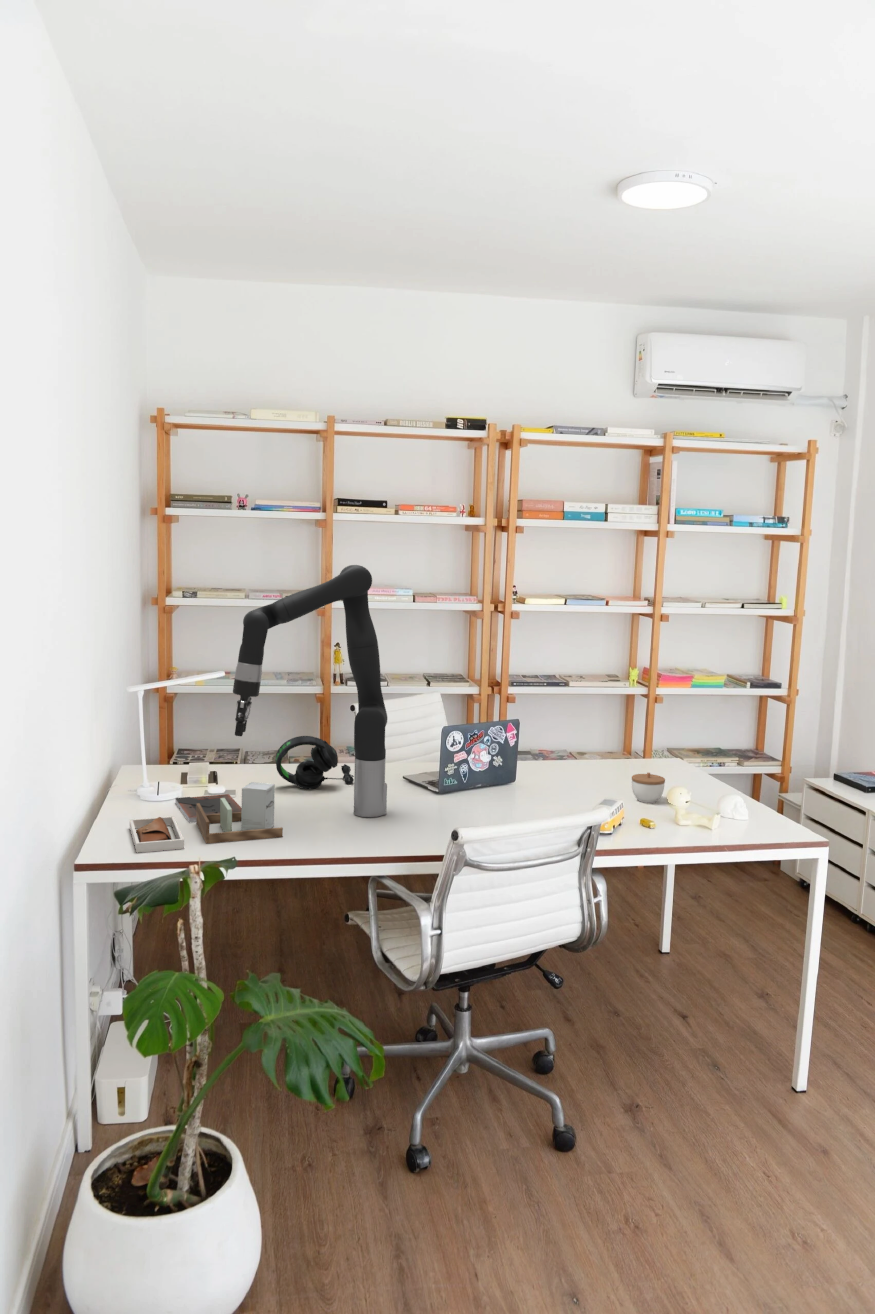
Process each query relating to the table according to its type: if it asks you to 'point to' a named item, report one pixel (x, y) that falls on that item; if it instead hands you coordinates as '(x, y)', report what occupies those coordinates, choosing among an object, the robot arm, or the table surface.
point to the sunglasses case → (154, 831)
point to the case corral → (156, 845)
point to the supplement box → (257, 806)
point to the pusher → (225, 815)
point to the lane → (204, 823)
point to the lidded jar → (647, 787)
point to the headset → (311, 763)
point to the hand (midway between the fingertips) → (240, 733)
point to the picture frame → (204, 805)
